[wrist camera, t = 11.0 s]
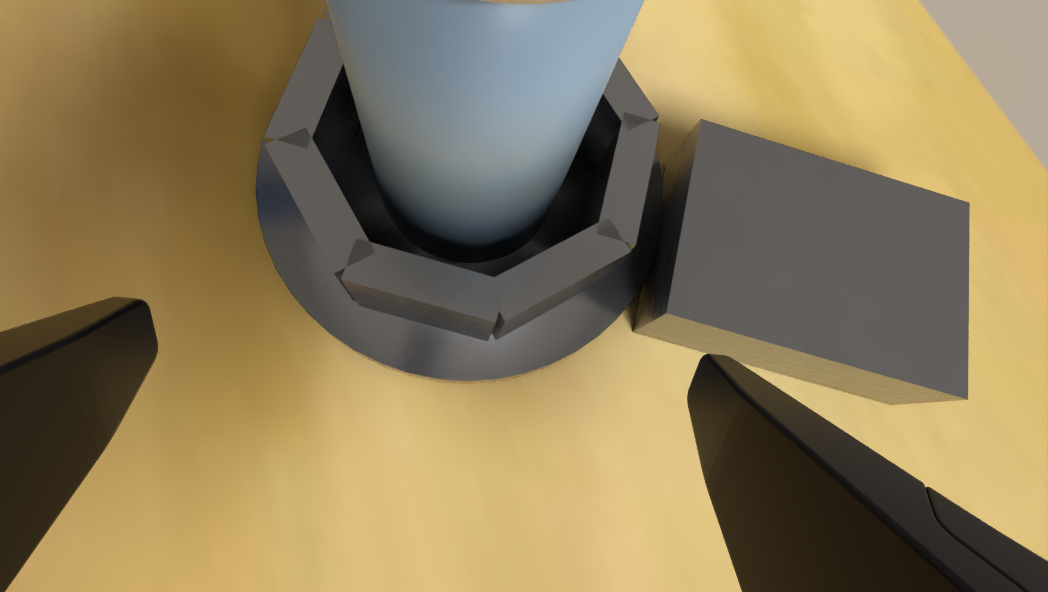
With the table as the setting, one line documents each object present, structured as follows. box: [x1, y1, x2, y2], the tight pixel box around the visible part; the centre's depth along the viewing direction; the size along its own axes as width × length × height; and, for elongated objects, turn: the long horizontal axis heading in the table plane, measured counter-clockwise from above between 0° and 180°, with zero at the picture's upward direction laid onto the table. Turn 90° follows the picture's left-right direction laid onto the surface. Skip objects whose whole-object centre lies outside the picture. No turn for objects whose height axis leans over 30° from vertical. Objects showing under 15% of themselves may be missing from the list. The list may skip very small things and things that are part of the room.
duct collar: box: [256, 11, 969, 405], centre depth 18 cm, size 24×14×4 cm, turn 76°
